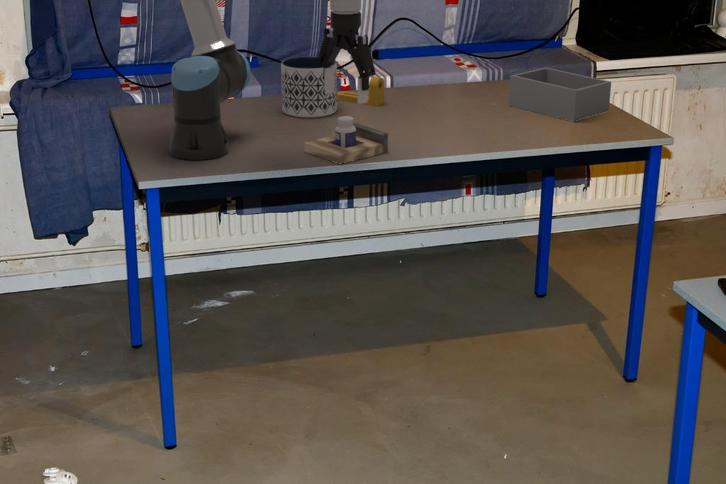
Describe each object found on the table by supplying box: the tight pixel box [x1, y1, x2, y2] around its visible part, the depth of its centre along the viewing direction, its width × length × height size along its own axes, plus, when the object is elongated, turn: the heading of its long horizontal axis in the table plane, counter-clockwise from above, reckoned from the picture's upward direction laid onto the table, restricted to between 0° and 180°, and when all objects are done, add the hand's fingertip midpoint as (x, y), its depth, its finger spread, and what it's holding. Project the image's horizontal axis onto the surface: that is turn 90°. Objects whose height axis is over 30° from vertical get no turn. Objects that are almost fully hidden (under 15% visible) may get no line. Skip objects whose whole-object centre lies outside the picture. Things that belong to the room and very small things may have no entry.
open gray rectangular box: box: [508, 67, 612, 121], centre depth 318 cm, size 16×24×9 cm, turn 42°
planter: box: [280, 55, 338, 119], centre depth 314 cm, size 16×16×14 cm
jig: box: [303, 121, 389, 164], centre depth 279 cm, size 16×14×5 cm
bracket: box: [337, 76, 385, 107], centre depth 326 cm, size 15×4×8 cm, turn 58°
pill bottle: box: [334, 115, 356, 148], centre depth 279 cm, size 5×5×9 cm
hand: (345, 97), depth 275 cm, fingers open, 12 cm apart
